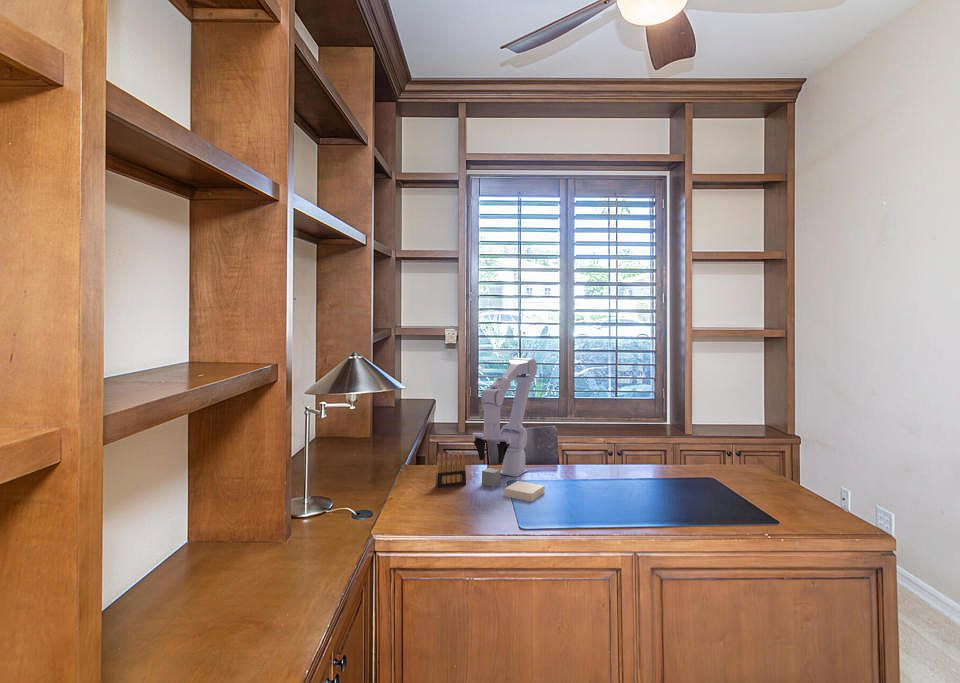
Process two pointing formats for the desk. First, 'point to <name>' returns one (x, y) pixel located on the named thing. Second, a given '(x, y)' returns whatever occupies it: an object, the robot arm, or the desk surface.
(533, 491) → the cream block
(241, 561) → the desk surface
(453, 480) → the ammunition clip
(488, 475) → the grey cube
